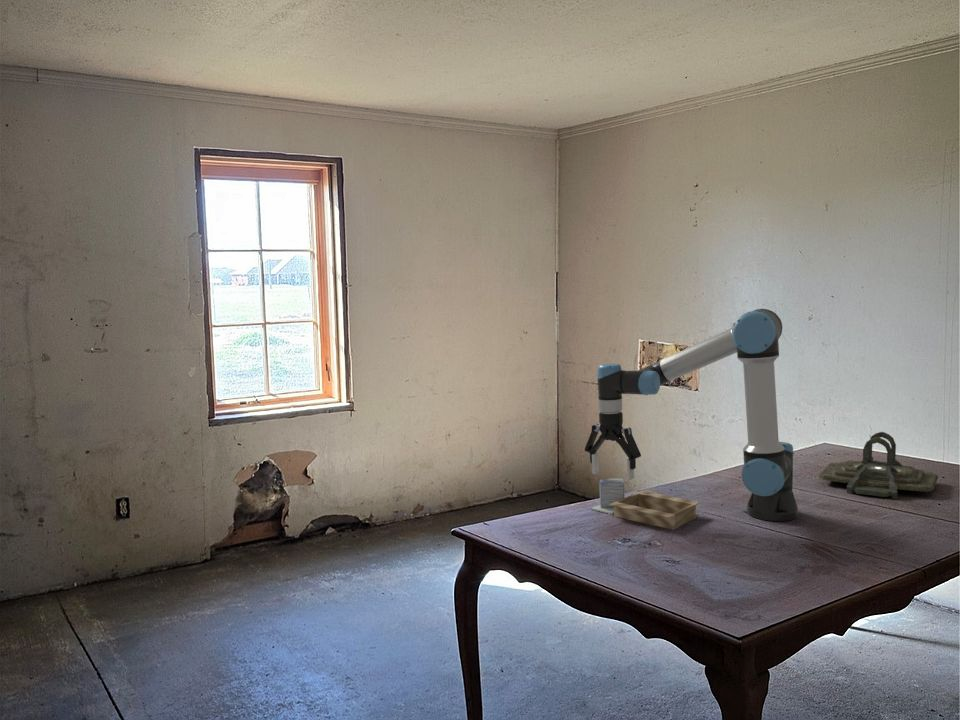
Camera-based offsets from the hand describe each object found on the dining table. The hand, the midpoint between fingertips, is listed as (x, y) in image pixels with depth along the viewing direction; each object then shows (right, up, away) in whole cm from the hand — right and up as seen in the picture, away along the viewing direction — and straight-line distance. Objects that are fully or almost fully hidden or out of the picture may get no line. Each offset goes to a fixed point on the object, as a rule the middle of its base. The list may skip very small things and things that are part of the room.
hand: (613, 476), depth 266 cm
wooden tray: (+12, -12, -9) cm, 19 cm away
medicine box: (0, -10, +1) cm, 10 cm away
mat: (0, -11, +2) cm, 11 cm away
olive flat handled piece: (+95, -6, +18) cm, 97 cm away
